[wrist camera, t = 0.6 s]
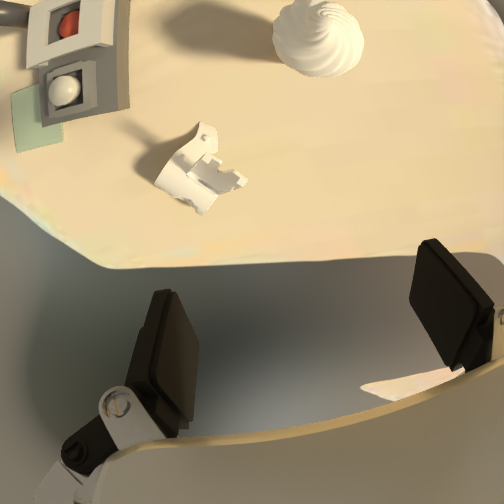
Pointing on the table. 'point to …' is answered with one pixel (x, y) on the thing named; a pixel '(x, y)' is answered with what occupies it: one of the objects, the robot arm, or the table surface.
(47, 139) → the mat
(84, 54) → the grey push-button box
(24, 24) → the stylus
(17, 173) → the table surface
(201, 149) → the plastic part
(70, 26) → the breaker button
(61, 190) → the table surface
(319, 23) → the soft serve ice cream cone
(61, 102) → the on button
